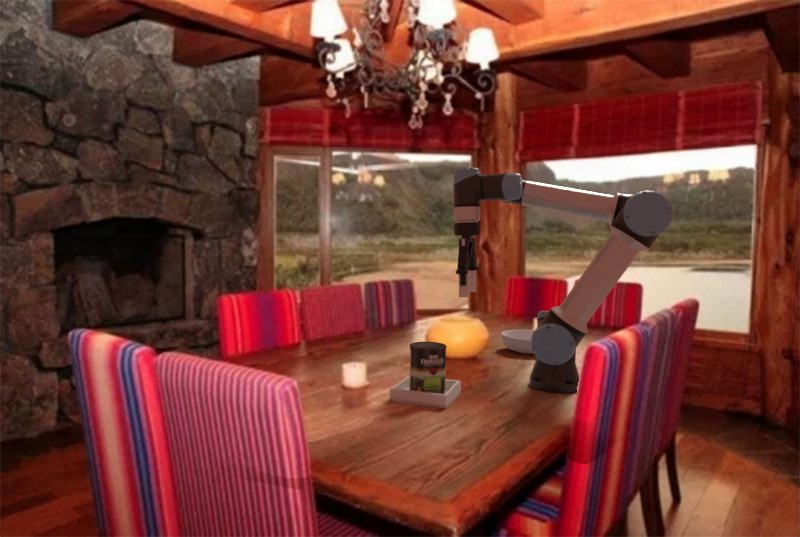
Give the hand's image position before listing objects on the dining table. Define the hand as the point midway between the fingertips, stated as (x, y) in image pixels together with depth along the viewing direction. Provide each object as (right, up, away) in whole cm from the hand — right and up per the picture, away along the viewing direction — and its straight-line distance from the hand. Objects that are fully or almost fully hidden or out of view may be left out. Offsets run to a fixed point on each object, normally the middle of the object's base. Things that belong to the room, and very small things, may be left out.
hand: (467, 294), depth 171 cm
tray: (-13, -29, -6) cm, 32 cm away
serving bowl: (+30, -25, +56) cm, 68 cm away
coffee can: (-12, -28, -7) cm, 31 cm away
